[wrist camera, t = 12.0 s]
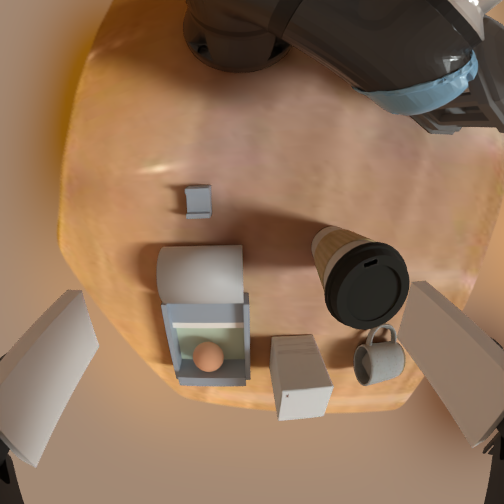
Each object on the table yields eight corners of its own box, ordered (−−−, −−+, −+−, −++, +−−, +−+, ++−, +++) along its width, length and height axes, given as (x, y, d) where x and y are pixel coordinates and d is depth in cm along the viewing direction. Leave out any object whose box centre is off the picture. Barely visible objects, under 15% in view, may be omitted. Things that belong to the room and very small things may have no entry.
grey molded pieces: (158, 186, 38) (140, 194, 30) (246, 182, 38) (248, 189, 31) (181, 358, 48) (174, 389, 41) (249, 358, 49) (251, 390, 41)
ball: (195, 339, 45) (189, 343, 40) (224, 340, 45) (221, 343, 40) (196, 368, 44) (190, 374, 39) (225, 368, 44) (222, 375, 39)
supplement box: (268, 367, 47) (275, 421, 35) (271, 335, 45) (281, 390, 33) (308, 365, 48) (324, 417, 36) (314, 333, 45) (334, 386, 33)
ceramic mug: (385, 361, 49) (401, 385, 42) (350, 367, 49) (363, 394, 41) (398, 318, 46) (418, 341, 38) (361, 323, 45) (378, 348, 38)
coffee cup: (308, 285, 42) (338, 347, 28) (290, 226, 39) (320, 268, 24) (366, 265, 41) (415, 314, 27) (354, 205, 38) (411, 235, 24)
